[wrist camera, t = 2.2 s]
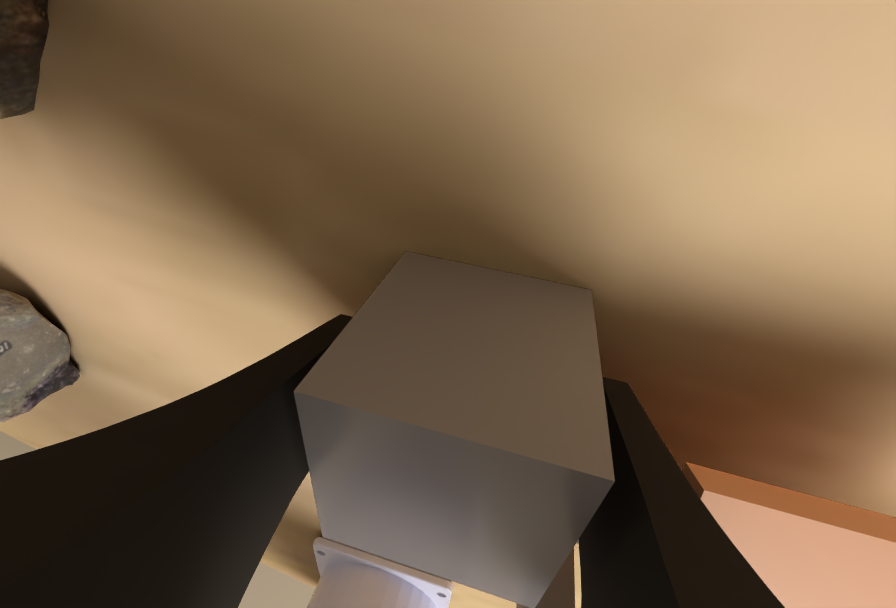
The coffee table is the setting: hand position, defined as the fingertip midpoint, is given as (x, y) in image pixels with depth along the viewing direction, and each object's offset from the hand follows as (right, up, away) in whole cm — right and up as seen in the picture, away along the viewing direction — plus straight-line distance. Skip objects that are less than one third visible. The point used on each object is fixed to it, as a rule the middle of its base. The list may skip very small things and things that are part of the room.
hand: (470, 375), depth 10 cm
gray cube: (0, +1, +1) cm, 2 cm away
